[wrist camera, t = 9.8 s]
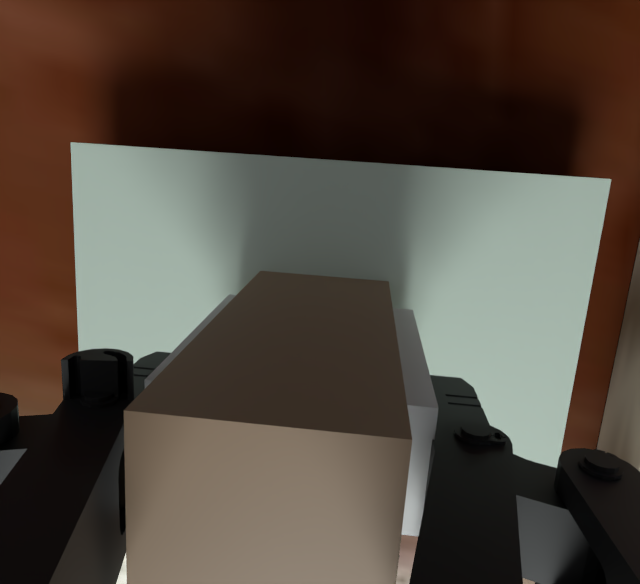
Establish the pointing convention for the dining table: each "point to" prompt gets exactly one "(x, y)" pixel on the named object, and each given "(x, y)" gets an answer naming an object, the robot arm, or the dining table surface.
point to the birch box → (625, 384)
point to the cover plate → (350, 224)
